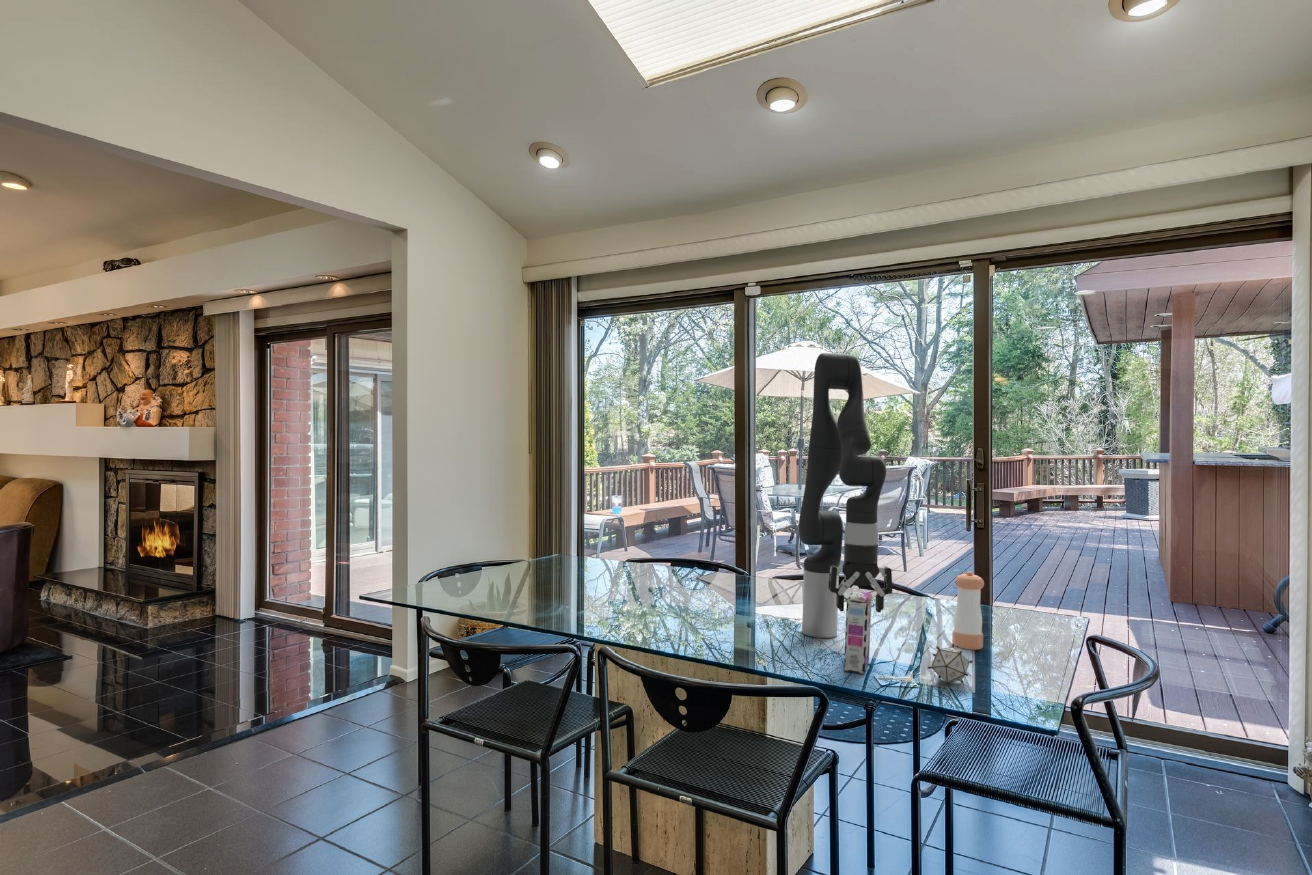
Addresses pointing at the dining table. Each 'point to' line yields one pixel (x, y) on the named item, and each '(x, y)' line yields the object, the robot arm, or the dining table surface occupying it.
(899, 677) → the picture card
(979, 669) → the dining table surface
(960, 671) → the game die
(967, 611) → the pepper shaker
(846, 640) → the candy bar box
